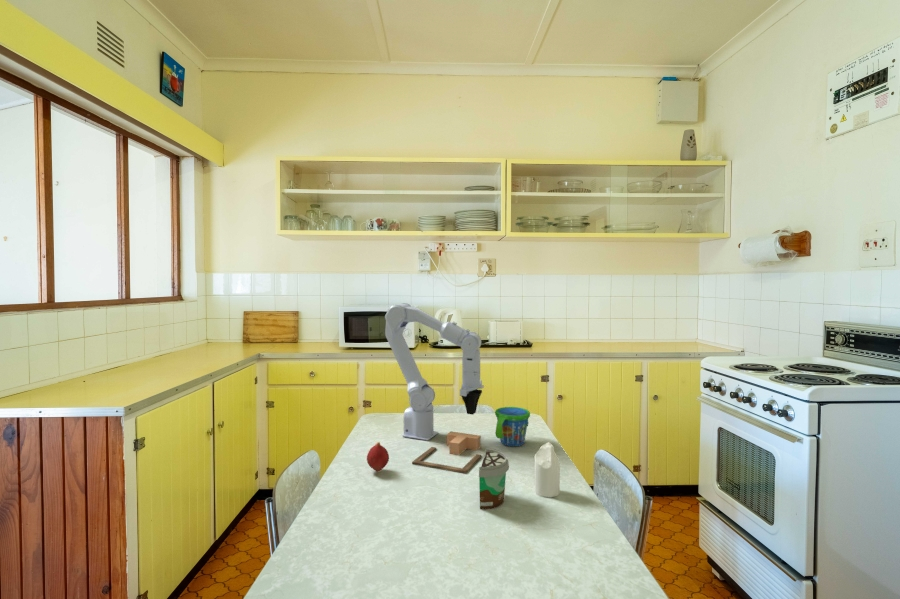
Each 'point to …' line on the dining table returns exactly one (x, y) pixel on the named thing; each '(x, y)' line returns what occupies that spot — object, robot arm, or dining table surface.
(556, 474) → the white piece
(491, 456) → the food container
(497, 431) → the snack cup
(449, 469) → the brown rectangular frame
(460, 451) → the T block
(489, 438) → the dining table surface
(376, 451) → the onion
